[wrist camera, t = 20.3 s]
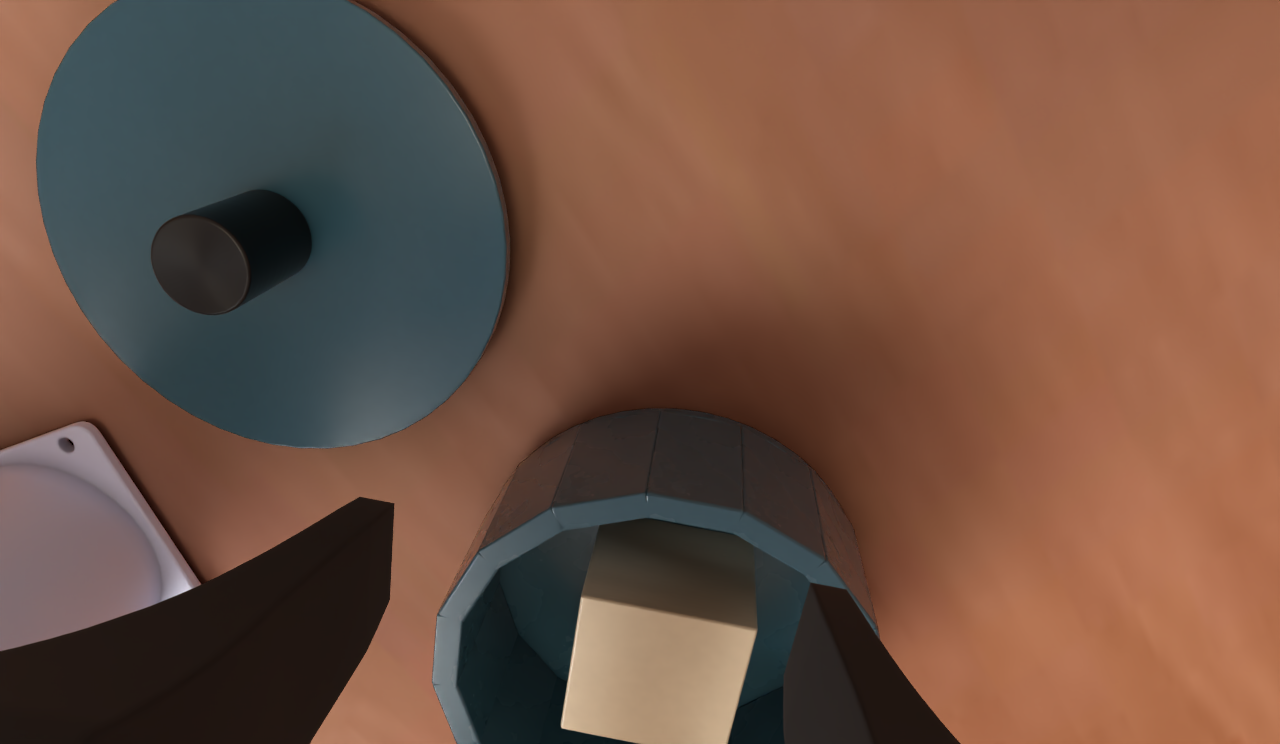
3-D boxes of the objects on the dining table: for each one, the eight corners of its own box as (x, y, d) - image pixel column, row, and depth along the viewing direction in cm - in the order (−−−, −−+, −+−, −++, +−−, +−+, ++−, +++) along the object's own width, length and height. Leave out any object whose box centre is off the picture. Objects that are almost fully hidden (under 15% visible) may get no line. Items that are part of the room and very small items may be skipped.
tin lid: (89, 391, 26) (-25, 457, 22) (38, -70, 21) (-122, -91, 17) (494, 467, 26) (451, 548, 22) (540, 16, 21) (495, 15, 17)
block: (583, 629, 27) (559, 729, 23) (603, 508, 25) (580, 595, 22) (724, 656, 27) (723, 761, 23) (754, 537, 25) (758, 630, 21)
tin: (470, 683, 29) (421, 808, 25) (501, 374, 24) (448, 455, 20) (809, 750, 29) (823, 888, 24) (904, 448, 24) (946, 549, 20)
